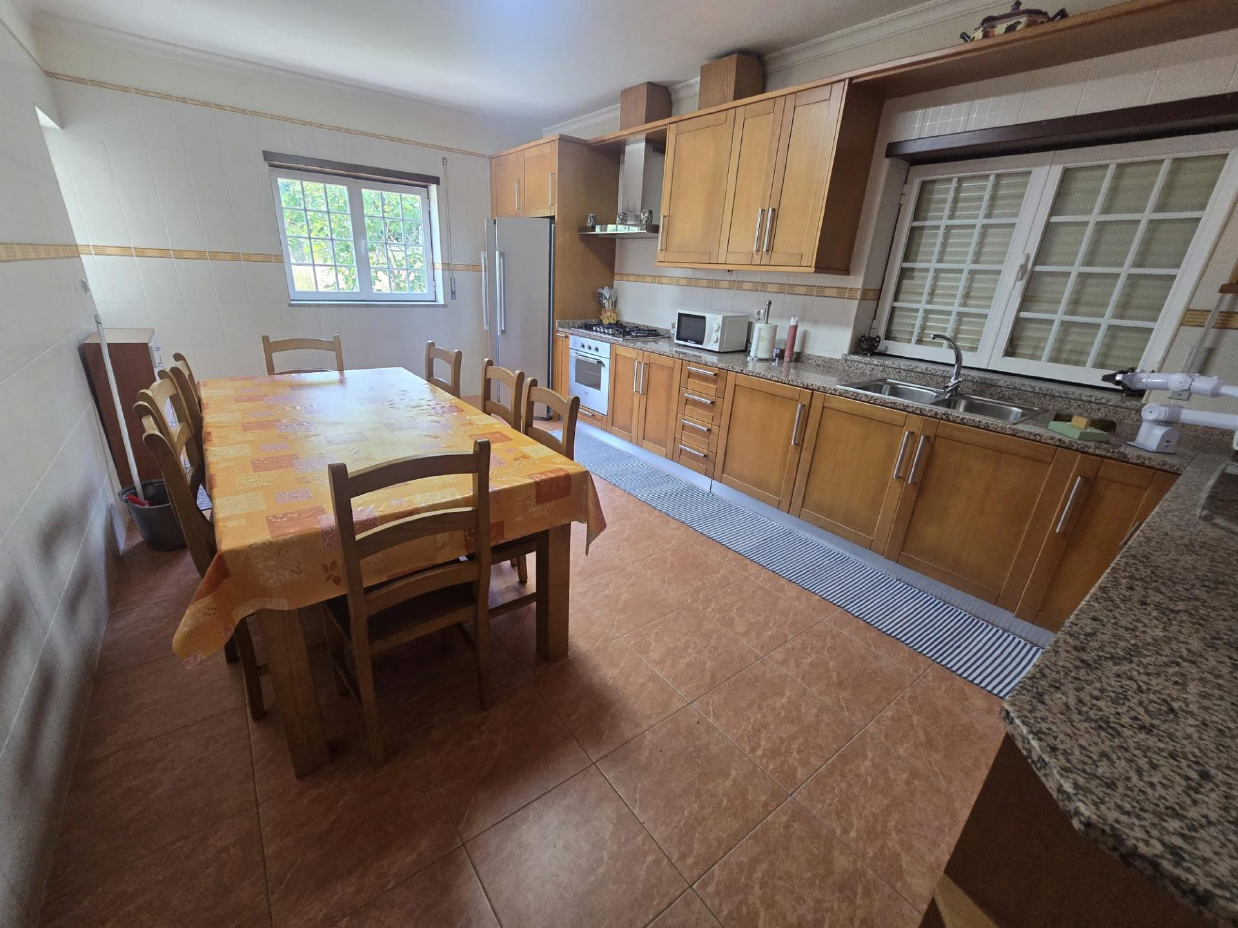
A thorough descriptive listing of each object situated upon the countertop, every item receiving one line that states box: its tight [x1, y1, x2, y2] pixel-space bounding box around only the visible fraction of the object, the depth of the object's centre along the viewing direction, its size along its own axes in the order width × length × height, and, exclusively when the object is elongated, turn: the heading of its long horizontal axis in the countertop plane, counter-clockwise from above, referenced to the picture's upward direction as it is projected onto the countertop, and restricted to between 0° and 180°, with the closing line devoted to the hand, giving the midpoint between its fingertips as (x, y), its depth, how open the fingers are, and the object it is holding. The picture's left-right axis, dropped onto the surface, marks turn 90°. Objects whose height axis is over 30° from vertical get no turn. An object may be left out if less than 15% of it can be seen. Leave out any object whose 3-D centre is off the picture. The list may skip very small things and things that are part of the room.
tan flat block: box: [1070, 414, 1091, 429], centre depth 184 cm, size 6×1×4 cm, turn 178°
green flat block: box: [1047, 420, 1110, 442], centre depth 185 cm, size 14×10×3 cm
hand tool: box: [1052, 411, 1118, 433], centre depth 198 cm, size 19×4×5 cm, turn 38°
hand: (1111, 380), depth 186 cm, fingers open, 7 cm apart
